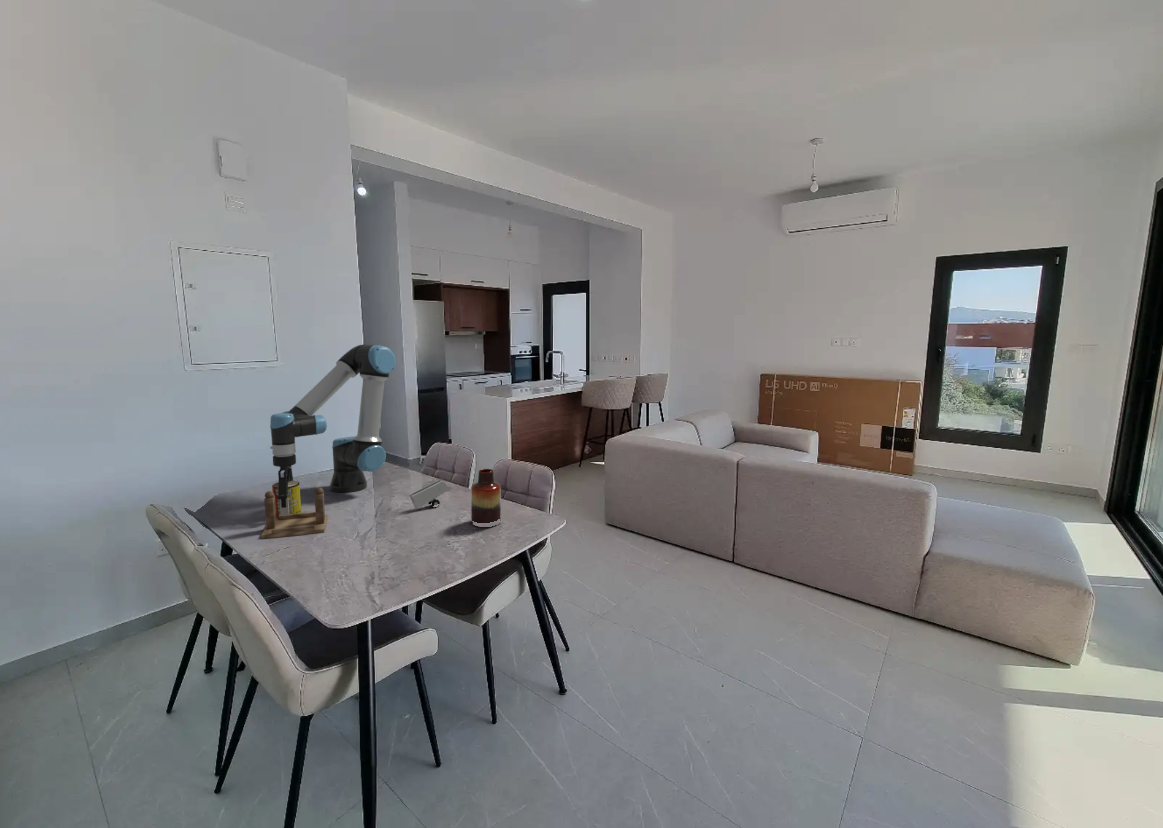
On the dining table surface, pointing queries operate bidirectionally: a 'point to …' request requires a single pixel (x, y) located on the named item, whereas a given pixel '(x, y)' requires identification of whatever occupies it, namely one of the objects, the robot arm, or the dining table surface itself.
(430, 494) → the grey toy trailer
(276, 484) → the beverage can
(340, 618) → the dining table surface
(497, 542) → the dining table surface
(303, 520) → the knobbed wooden cradle
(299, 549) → the dining table surface
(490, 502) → the vase
